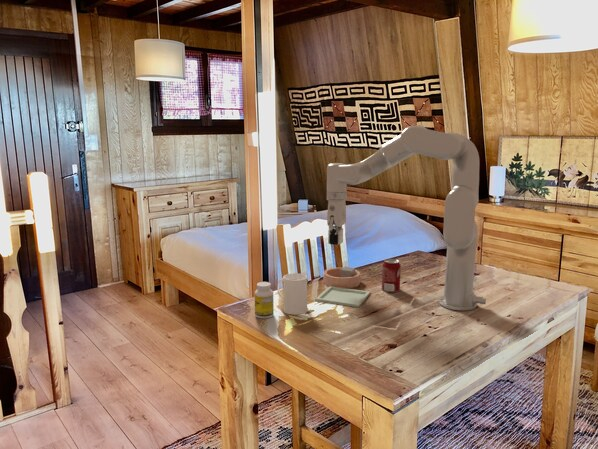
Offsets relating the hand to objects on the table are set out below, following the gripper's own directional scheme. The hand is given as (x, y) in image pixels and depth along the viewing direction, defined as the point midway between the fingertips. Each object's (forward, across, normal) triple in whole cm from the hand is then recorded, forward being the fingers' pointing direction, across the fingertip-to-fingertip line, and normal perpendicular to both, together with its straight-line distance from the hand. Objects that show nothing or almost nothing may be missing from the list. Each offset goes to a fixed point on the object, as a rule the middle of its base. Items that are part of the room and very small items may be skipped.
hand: (335, 242), depth 192 cm
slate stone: (+17, +3, -4) cm, 18 cm away
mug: (+18, -29, +6) cm, 35 cm away
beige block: (0, 0, 0) cm, 0 cm away
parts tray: (+18, -13, -7) cm, 23 cm away
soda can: (+18, +2, -22) cm, 28 cm away
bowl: (+18, +3, -2) cm, 18 cm away
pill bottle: (+18, -38, +13) cm, 44 cm away
